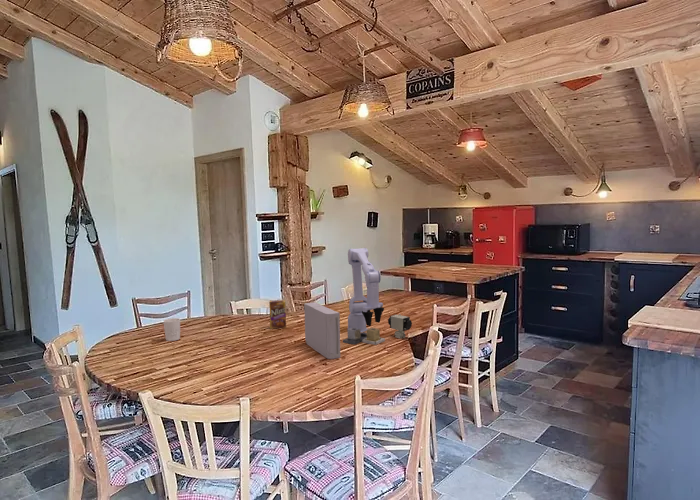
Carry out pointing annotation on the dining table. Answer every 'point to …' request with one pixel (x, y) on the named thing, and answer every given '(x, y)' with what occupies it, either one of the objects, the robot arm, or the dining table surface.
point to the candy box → (277, 314)
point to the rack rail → (363, 336)
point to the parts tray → (373, 341)
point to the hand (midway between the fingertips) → (373, 323)
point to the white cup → (172, 329)
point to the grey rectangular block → (354, 334)
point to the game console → (322, 330)
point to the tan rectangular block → (373, 334)
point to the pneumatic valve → (399, 324)
